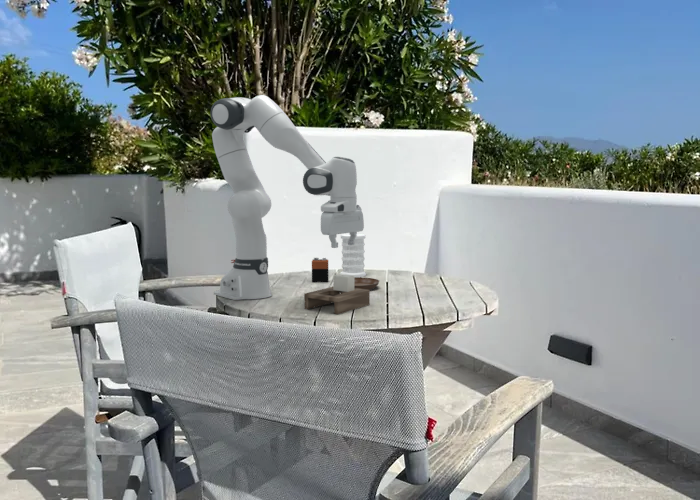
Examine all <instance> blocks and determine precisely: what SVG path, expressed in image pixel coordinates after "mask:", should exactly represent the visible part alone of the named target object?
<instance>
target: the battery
mask: <svg viewBox="0 0 700 500" xmlns="http://www.w3.org/2000/svg"><path fill="white" fill-rule="evenodd" d="M311 282H312V283H328V282H329V259H328V258H326V257H323V258H322V259H319V257H313V259H312V260H311Z"/></svg>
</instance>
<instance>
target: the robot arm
mask: <svg viewBox="0 0 700 500" xmlns="http://www.w3.org/2000/svg"><path fill="white" fill-rule="evenodd" d="M210 118H211V121H212V123H213V124H214V126H216V127H215V128H214V129H213V131H212V133H211V137H212V143H213V144H212V145H213V149H214V152H215V155H216V158H217V161H218V164H219V167H220V171H221V173H222V176H223V178H224V180H225V181H226V182H227V184H228V185H229V186H230V188H231V191H232V192H233V193H234V194H233V195H232V196H231V197H230V198H229V200H228V203H227V211H228V213H229V215H230V218H231V221H232V222H231V223H232V225H233V230H234V235H235V250H236V251H235V253H236V257H235V259H231V260H230V261H231V262H230V263H231V264H233V266H232V267H233V268H231V270H229V271H228V272H227V273H225V274H224V275H223V276H222V277H221V279H220V283H219V289H217V290H216V291H214V292H213V295H215V296H218V297H221V298H226V299H229V300H234V301H237V300H239V301H240V300H259V299H265V298H271V296H273V294H272V289H271V284H270V277H269V271H268V268H269V258H268V252H267V250H268V248H267V247H268V246H267V244H268V243H267V235H266V233H265V229H264V225H263V220H262V218H264V217H265V216H266V215H268V214H269V212H270V210H271V207H272V199H271V197H270V196H269V195H268V193H267V191H266V190H265V188H264V186H263V183H262V181H261V180H260V178H259V177H258V174H257V173H256V171H255V168H254V165H253V163H252V161H251V158H250V155H249V152H248V149H247V147H246V145H245V142H244V133H246V134H248V133H250V132H251V131H252V130H253V129H254V128H255V129H256V130H257V131H258V133H259V134H260V135H261V136H262V138H263V139H264V140H265V141H266V142H267V143H269V145H271V146H272V147H273V148H275V149H278V150H281V151H283V152H286V153H289V154H290V155H293V156H294V157H296V158H297V160H299V161H300V162H301V163H302V164H303V166H305V168H306V169H307V170H306V171H305V173H304V174H303V176H302V183H303V188H304V190H305V191H306V192H307V193H308V194H309V195H314V196H329V197H330V199H329V200H328V201H326V202H325V203H323V204H322V205H321V206H320V212H321V216H320V232H321V234H322V235H324V236H328V238H329V241H330V243H331V246H330V247H331V248H333V249H337V248H339V242H338V241H337V235H343V234H350V239H349V240H348V245H354V241H355V238H356V236H357V234H358V233H359V232H363V230H364V228H365V225H364V224H365V223H364V214H363V211H362V208H361V206H360V205H359V204H357V200H358V199H357V193H356V192H357V191H356V188H357V185H358V184H357V183H358V182H357V181H358V178H357V177H358V176H357V167H356V166H357V165H356V162H355V161H354V160H353V159H351V158H347V157H341V156H333V157H332V158H331V159H329V160H328V161H327V162H326V161H325V160H324V158H322V157H321V156H320V154H319V153H318V152H317V151H316V150H315V148H313V147H312V145H311V144H310V143H309V142H308V141H307V140H306V139H305V137H304V136H303V135H302V134H301V132H300V131H299V129H297V127H296V125H295V124H294V123H293V122H292V120H291V119H290V118H289V116H288V115H287V114H286V112H284V110H283V109H282V108H281V106H280V105H278V104H277V103H276V102H275V101H274V100H273V99H271V98H270V97H269V96H267V95H264V94H258V95H256V96H255V97H253V98H250V97H240V96H238V97H237V96H234V97H229V98H228V97H226V98H225V97H224V98H220V99H218V100H216V101H215V102H213V104H212V106H211V107H210Z"/></svg>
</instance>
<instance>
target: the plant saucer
mask: <svg viewBox="0 0 700 500" xmlns="http://www.w3.org/2000/svg"><path fill="white" fill-rule="evenodd" d="M379 283H380V280H379V279H377V278H373V277H354V288H359V289H367V290H370V291H371V290H374V289H376V288H377V286H379Z"/></svg>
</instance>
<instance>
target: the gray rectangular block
mask: <svg viewBox="0 0 700 500" xmlns="http://www.w3.org/2000/svg"><path fill="white" fill-rule="evenodd" d="M354 278H355V277H354V276H353V275H344V274H340V273H339V274H336V275H333V276H332V281H333V285H332V287H333V290H337V291H342V292H349V291H353V290H354Z"/></svg>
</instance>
